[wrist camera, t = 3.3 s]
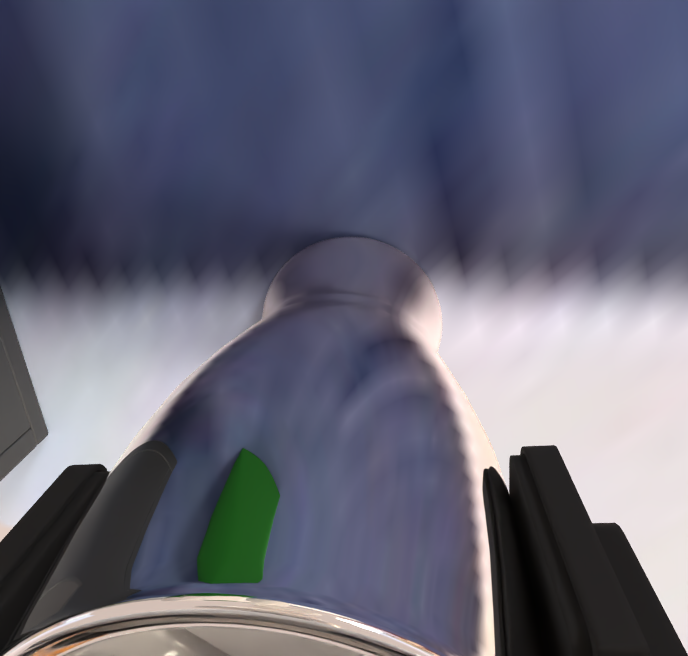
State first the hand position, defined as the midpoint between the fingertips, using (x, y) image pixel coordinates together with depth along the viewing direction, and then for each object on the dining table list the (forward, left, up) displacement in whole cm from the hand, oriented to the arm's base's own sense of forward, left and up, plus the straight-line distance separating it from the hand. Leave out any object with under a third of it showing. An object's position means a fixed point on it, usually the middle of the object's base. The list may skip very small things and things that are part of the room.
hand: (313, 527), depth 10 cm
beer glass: (0, 0, -10) cm, 10 cm away
